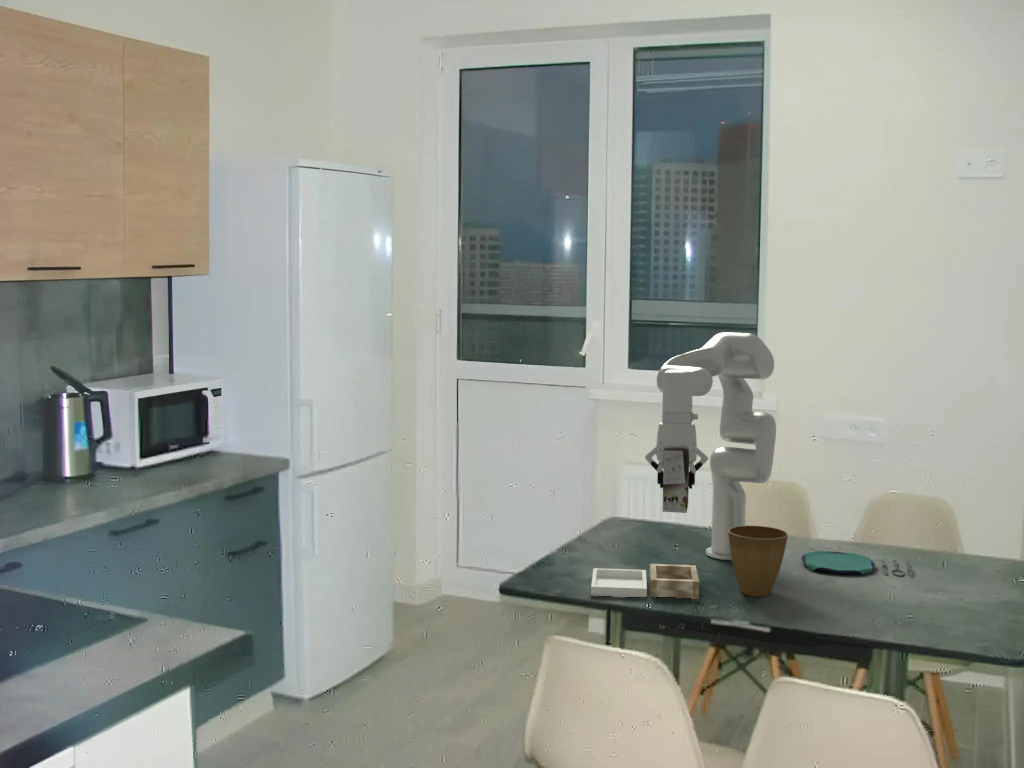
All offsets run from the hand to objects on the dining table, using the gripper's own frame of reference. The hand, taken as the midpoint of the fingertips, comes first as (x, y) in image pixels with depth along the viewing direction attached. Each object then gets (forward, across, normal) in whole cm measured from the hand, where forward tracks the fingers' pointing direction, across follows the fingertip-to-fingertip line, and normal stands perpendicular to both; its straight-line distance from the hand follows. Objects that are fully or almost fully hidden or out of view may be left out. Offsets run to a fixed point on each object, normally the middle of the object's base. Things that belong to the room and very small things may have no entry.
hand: (675, 486), depth 274 cm
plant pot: (+27, -21, 0) cm, 34 cm away
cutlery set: (+28, -52, -27) cm, 65 cm away
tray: (+27, +14, 0) cm, 30 cm away
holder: (+27, 0, 0) cm, 27 cm away
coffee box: (+6, 0, 0) cm, 6 cm away
